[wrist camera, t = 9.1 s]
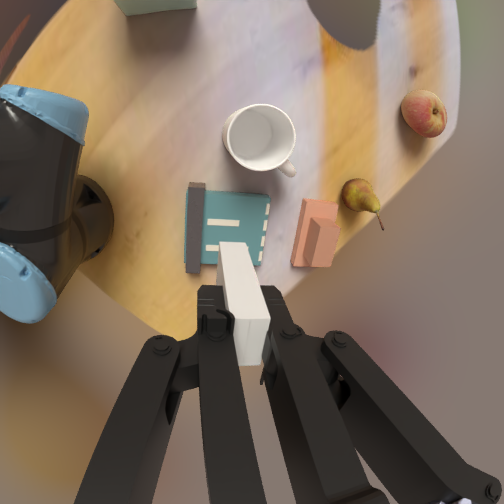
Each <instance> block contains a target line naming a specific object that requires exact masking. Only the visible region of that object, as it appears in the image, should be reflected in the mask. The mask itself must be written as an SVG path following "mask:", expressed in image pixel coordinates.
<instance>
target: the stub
mask: <svg viewBox="0 0 504 504" xmlns="http://www.w3.org/2000/svg"><path fill="white" fill-rule="evenodd" d="M338 207H339V205H337V204H336V203H335V202H330V201H322V200H313V199H304V198H303V201H302V206H301V211H300V216H299V221H298V227H297V232H296V237H295V241H294V246H293V251H292V256H291V263H292V264H293V266H304V267H330V266H331V263H332V260H333V256H334V252H335V249H336V245H337V241H338V237H339V233H340V230H341V228H340V227H339V226H338V225H336V224H335V220H336V216H337V211H338Z"/></svg>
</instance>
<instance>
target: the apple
mask: <svg viewBox="0 0 504 504" xmlns="http://www.w3.org/2000/svg"><path fill="white" fill-rule="evenodd" d="M401 110H402V115H403V117H404V119H405V121H406V123H407V124H408V125H409V126H410V127H411V128H412V129H413V130H414V131H415V132H417V133H418V134H419V135H421V136H424V137H428V138H432V137H436V136H438V135H440V134H441V133H442V132H443V130H444V129H445V126H446V123H447V113H446V109H445V107H444V105H443V103H442V102H441V100H440V99H439V98H438V97H437V96H436V95H435V94H434V93H432V92H429V91H426V90H415V91H412V92H410V93H408V94H407V95H406V96H405V97H404V99H403V101H402V104H401Z"/></svg>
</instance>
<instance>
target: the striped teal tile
mask: <svg viewBox="0 0 504 504" xmlns="http://www.w3.org/2000/svg"><path fill="white" fill-rule="evenodd" d="M270 200H271V198H270V197H269V195H264V194H252V193H238V192H224V191H206V190H205V192H204V206H203V221H202V239H201V261H200V264H218V252H219V241H220V242H243V243H246V246H247V249H248V252H249V255H250V258H251V261H252V264H253V265H260V264H261V259H262V253H263V246H264V240H265V233H266V227H267V221H268V214H269V208H270ZM187 204H188V190H187V193H186V213H185V247H184V263H186V228H187Z"/></svg>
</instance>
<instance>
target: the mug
mask: <svg viewBox="0 0 504 504" xmlns="http://www.w3.org/2000/svg"><path fill="white" fill-rule="evenodd" d="M222 138H223V142H224V145H225V147H226V148H227V150H228V151H229V153H230V154H231V155H232V157H233V158H234V159H235V160H236V161H237V162H238V163H239V164H240V165H242V166H243V167H245V168H247V169H250V170H254V171H268V170H272V169H275V168H278V169H279V170H280V171H282V172H283V173H284V174H285V175H287V176H288V177H293V176H295V174H296V170H295V168H294V167H293V165H292V164H291V163H290V161H289V160H288V158H289V157H290V155H291V154H292V152H293V149H294V146H295V141H296V133H295V128H294V125H293V123H292V121H291V120H290V118H289V117H288V116H287V115H286V114H285V113H284V112H283V111H282V110H280V109H279V108H277V107H275V106H272V105H268V104H255V105H251V106H248V107H245V108H242V109H240V110H237V111H236V112H234V113H233V114H231V115H230V116H229V118H228V119H227V120H226V122H225V124H224V127H223V131H222Z"/></svg>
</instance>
